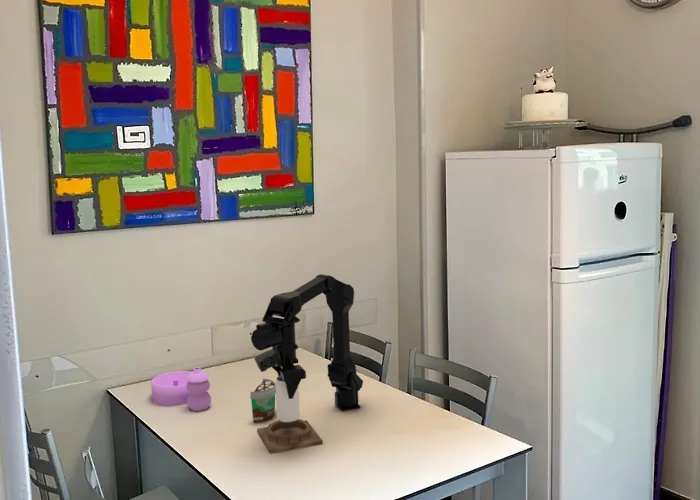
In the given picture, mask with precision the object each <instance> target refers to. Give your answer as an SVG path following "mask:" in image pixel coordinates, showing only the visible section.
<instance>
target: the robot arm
mask: <svg viewBox="0 0 700 500" xmlns="http://www.w3.org/2000/svg"><path fill="white" fill-rule="evenodd" d="M321 294H323V295H324V296H325V299H326V304H327V306H328V308H329V310H330V311H331V314H332V315H331V316H332V317H331V318H332V336H333V337H332V339H333V340H332V341H333V359H332V361H331V362H330V363H328V364H327V366H326V367H327V377H328V380H329V382H330V384H331V387H332V388H335V392H334V405H335V406H336V407H337V408H338V409H339V411H342V412H344V411H348V410H354V409H360V408H361V405H360V404H359V391H361V389H362V388H363V383H364V380H363V379H362V378H361V377H360V376H359V375H358V374H357V367H356V363H354V361H353V359H352V357H351V348H350V347H351V345H350V341H351V340H350V315H349V313H350V310H351V308H352V306H353V305H354V301H355V300H354V299H355V290H354V287H353V286H352V285H351V284H348V283H345V282H343V281H340V280H338V279H336V277H334V276H332V275H329V274H322V273H321V274H317V275H316V276H315V277H314V278H313V279H311V280H310V281H309V280H308V281H307V282H306V283H304V284H302V285H300V286H299V287H297V288H296V289H294V290H291V291H288V292H282V293H278V294H276V295H273V296H272V297H271V298H270V302H269V303H268V306H267V308H266V310H265V313H264V315H263V317H262V320H261V321H262V322H263V323H258V324H256V326H255V329H254V330H253V332H252V333H251V337H250V340H251V344H252V346H253V347H254V348H255V349H256V350H258V351H264V350H266V351H264V352H263V353H261V354H260V353H259V354H258V355H256V356H255V357H254V358H253V359H254V361H255V363H256V366H257V368H258V369H259V370H260V372H261V373H263V372H266V371H268V370H269V369H270V368H272V369H273V370H274V371H275V372H276V374H277V377H278V376H280V375H281V377H280V378H281V379H282V381H284V382H285V384H286V389H287V393H288V397H289V399H292V398H293V397H294V394H295V392H296V390H297V388H298V385H299V386H300V383H301V381H302V380H305V379H306V378H307V372H306V370H305V369H304V368H303V366H301V365H300V364H299V359H298V358H297V350H298V349H299V347H298V344H297V343H296V323H299V322H300V321H301V319H300V318H299V317H297V315H298V314H299V313H300V312H301V311H302V308H303V306H304V305H305V304H306V303H308V302H310V301H312V300H313V299H314V298H317V297H318V296H319V295H321ZM270 348H271V349H270ZM267 349H269V350H267Z"/></svg>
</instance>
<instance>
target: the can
mask: <svg viewBox="0 0 700 500" xmlns="http://www.w3.org/2000/svg"><path fill="white" fill-rule="evenodd" d="M280 377H281V375H280V376H278V375H277V377H276V381H275V386H276V393H275V408H276V418H277V421H278V420H279V421H281V422H285V423H289V422H294V421H297V420H298V419H299V420H300V418H301V409H300V407H301V406H300V404H301V403H300V384H299V385H298V388H297V390H296V392H295V394H294V397H293V398H292V399H289V397H288V393H287V389H286V384H285V382H284V381H282V379H281V378H280Z"/></svg>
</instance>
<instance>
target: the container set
mask: <svg viewBox="0 0 700 500" xmlns="http://www.w3.org/2000/svg"><path fill="white" fill-rule="evenodd" d="M150 386H151V397H152V398H151V399H152V400H151V401H152V403H153V404H155V405H158V406H162V407H163V406H164V407H177V406H182V405H183V406H185V405H187V406H188V408H189V409H191V410H192V411H194V412H202V411H205V410H207V409H208V407H209V406H210V405H211V403H212V397H211V395H210V393H209V392H208V390H209V389H210V386H211V384H210V381H209V374H208V373H207V372H206V371H204V370H202V368H201V367H200V366H196V367H194V368H193V371H187V370H177V371H176V370H175V371H170V372H163V373H161V374H158V375H157V376H155V377H153V378H152V379H151V381H150Z"/></svg>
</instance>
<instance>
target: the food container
mask: <svg viewBox="0 0 700 500" xmlns="http://www.w3.org/2000/svg"><path fill="white" fill-rule="evenodd" d="M275 384H276V381H274V380H272V379H269V378H262V382H261V383H260V384H259V385H258V386H257V387H255V389H254V391H250V393H249V394H250V396H249V397H250V400H251V403H250V404H251V413H252V421H253V423H256V424H257V423H264V422H268V421H271V420H273V418H275V416H276V415H275V414H276V413H275V412H276V386H275Z"/></svg>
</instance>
